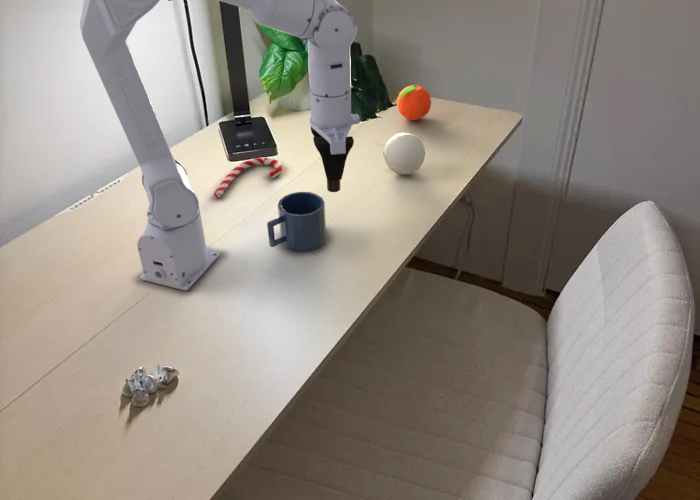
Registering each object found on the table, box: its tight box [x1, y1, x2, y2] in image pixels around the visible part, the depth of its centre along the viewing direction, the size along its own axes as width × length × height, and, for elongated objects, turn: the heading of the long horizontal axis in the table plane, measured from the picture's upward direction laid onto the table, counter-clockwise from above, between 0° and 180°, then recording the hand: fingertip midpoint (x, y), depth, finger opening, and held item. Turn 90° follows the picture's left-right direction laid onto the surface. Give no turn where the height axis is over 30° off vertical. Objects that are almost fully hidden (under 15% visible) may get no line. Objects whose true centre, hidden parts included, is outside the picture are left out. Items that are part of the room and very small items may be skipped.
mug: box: [266, 191, 327, 253], centre depth 103 cm, size 10×7×6 cm
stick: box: [326, 179, 341, 193], centre depth 101 cm, size 2×2×7 cm
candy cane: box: [213, 157, 283, 199], centre depth 120 cm, size 8×1×15 cm
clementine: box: [396, 84, 432, 121], centre depth 137 cm, size 8×7×7 cm
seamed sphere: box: [373, 132, 426, 175], centre depth 120 cm, size 10×7×7 cm
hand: (333, 175), depth 102 cm, fingers closed on stick, 2 cm apart
